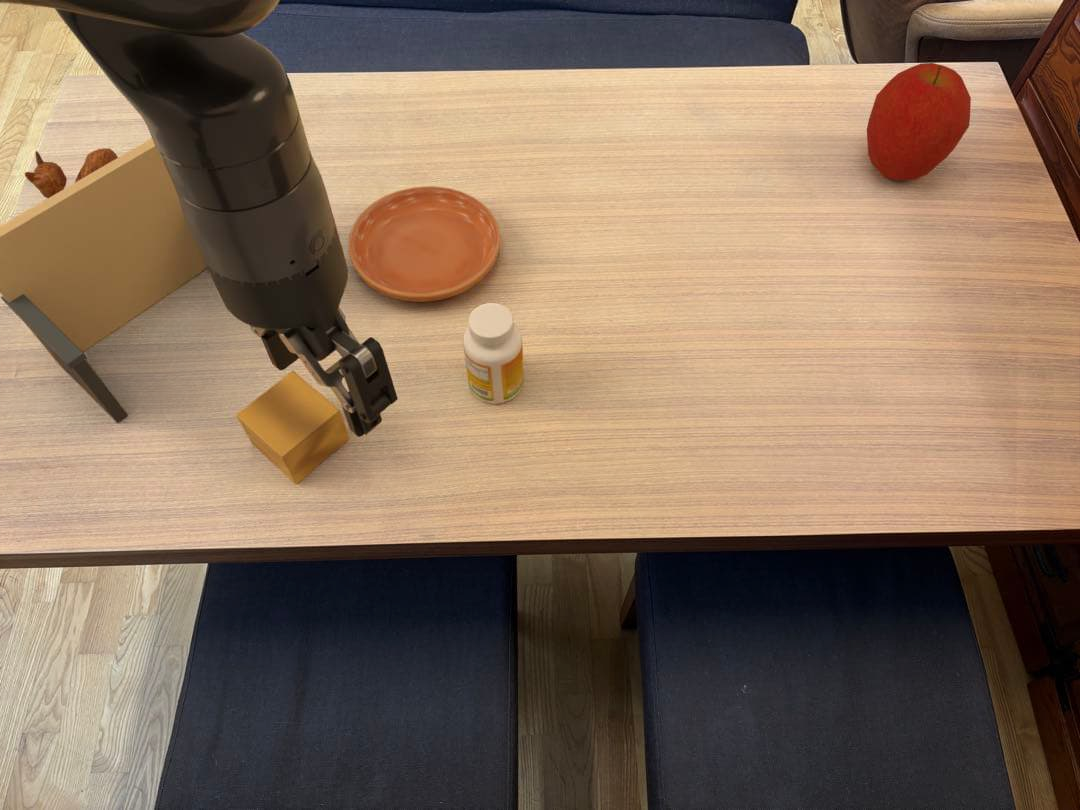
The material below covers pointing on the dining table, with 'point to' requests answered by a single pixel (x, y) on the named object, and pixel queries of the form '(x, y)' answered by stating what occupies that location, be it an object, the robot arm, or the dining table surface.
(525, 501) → the dining table surface
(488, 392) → the supplement bottle
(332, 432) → the box
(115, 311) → the small wooden bench
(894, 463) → the dining table surface
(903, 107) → the apple
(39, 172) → the cat figurine
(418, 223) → the saucer
